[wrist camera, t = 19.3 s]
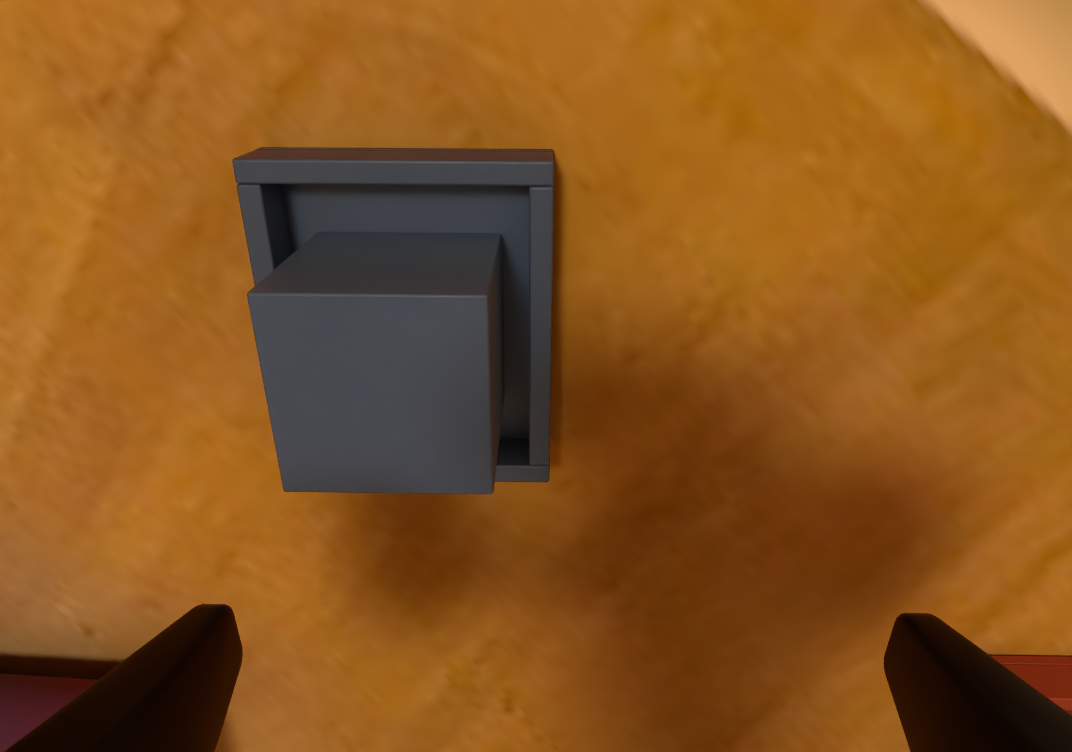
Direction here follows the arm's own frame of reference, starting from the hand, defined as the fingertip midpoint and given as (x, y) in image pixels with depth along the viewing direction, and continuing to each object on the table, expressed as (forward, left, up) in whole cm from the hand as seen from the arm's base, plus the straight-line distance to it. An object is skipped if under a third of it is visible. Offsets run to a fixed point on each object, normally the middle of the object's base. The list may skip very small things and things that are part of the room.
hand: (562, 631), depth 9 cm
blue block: (0, +4, -12) cm, 12 cm away
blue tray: (0, +4, -12) cm, 13 cm away
